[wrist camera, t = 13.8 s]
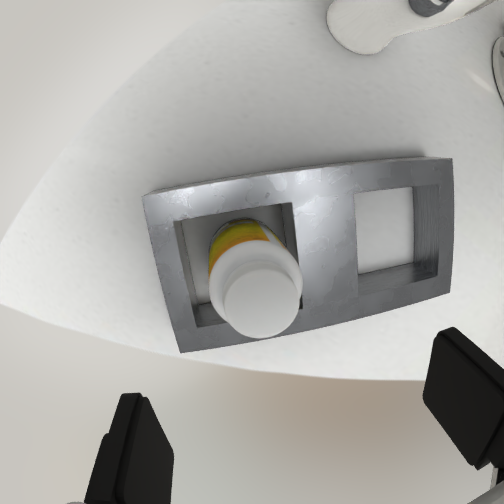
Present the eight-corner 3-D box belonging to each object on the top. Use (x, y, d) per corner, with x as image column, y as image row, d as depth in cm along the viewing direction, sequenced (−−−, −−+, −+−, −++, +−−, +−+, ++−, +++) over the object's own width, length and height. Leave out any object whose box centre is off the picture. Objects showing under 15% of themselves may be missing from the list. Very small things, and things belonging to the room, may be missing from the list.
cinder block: (152, 191, 24) (141, 196, 20) (425, 156, 26) (452, 158, 22) (183, 328, 27) (180, 353, 24) (426, 277, 29) (449, 292, 25)
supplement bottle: (196, 262, 26) (188, 324, 16) (232, 203, 25) (244, 232, 15) (254, 294, 27) (276, 365, 18) (290, 239, 26) (335, 286, 17)
